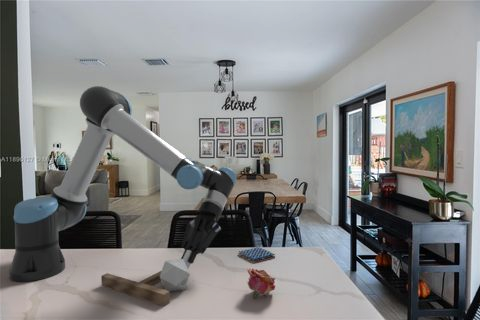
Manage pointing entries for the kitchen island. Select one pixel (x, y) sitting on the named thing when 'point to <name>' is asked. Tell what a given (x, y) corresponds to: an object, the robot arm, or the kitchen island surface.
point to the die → (174, 275)
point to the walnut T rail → (138, 288)
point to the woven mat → (256, 254)
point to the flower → (260, 282)
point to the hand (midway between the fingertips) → (181, 272)
